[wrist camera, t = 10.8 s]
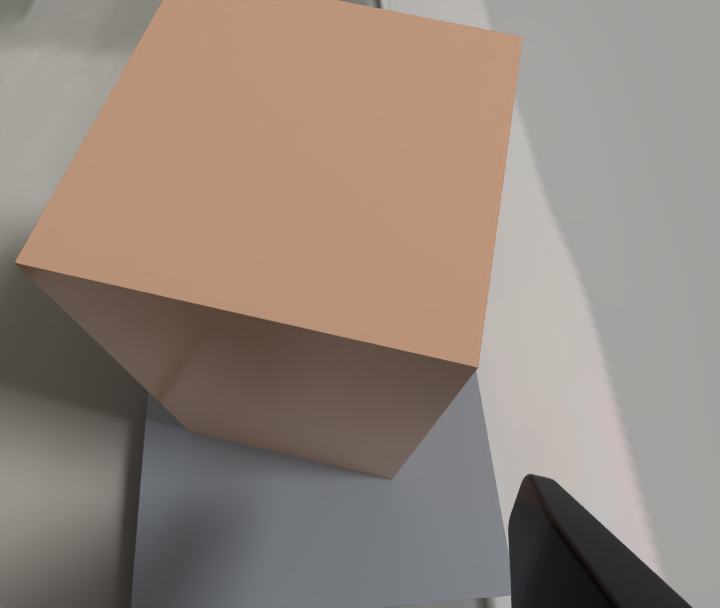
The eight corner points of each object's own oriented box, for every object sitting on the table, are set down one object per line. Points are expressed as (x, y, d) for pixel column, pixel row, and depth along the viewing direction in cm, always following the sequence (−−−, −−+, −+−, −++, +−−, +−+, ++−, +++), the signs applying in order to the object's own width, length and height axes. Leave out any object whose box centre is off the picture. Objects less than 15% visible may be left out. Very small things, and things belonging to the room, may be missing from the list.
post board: (504, 592, 16) (558, 601, 12) (140, 628, 15) (80, 648, 11) (435, 188, 22) (457, 111, 18) (172, 197, 21) (139, 119, 17)
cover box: (392, 479, 16) (478, 366, 7) (190, 431, 16) (15, 262, 7) (426, 296, 18) (523, 36, 9) (252, 257, 19) (180, -31, 10)
